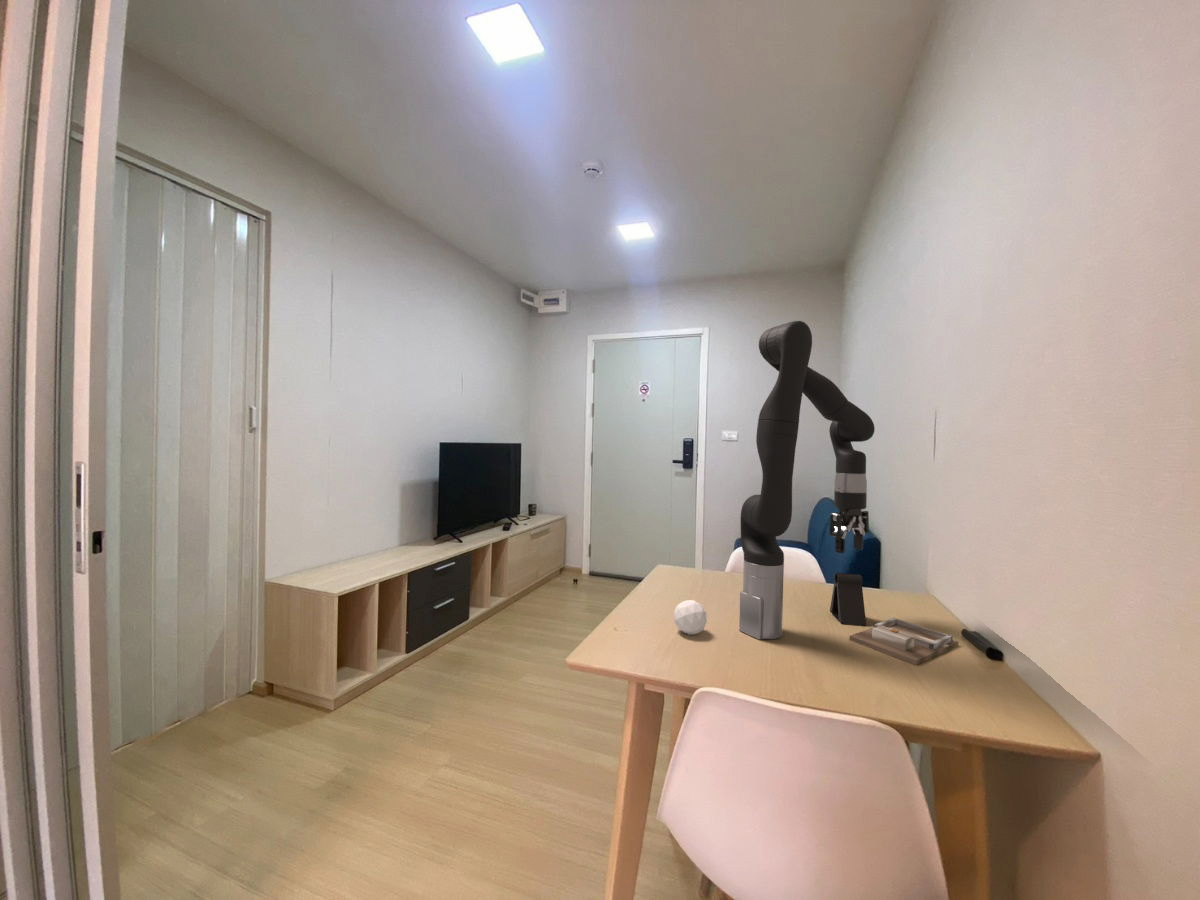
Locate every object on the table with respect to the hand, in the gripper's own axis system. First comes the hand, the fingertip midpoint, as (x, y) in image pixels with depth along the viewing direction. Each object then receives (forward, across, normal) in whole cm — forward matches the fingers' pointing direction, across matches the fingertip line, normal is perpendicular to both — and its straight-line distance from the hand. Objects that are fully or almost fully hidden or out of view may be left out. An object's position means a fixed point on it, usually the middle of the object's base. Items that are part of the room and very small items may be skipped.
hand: (849, 550), depth 118 cm
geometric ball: (+18, +44, -13) cm, 49 cm away
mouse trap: (+18, +3, +15) cm, 24 cm away
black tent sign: (+18, 0, 0) cm, 18 cm away
